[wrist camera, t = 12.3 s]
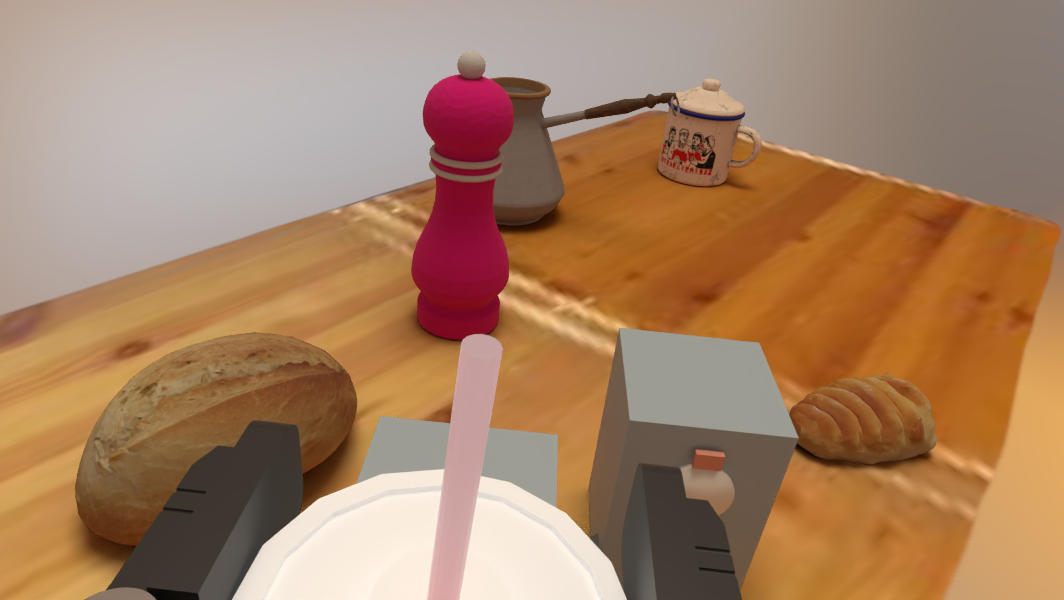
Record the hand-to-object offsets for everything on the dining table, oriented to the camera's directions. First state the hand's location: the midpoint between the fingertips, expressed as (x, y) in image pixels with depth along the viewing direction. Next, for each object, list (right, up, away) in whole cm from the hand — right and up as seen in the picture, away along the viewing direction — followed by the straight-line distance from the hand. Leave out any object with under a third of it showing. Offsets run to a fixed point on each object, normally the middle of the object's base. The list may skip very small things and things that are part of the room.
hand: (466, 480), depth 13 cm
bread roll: (-15, -7, +26) cm, 31 cm away
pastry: (+23, -6, +34) cm, 42 cm away
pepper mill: (-5, +2, +42) cm, 42 cm away
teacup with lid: (+22, +18, +75) cm, 80 cm away
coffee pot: (+3, +11, +59) cm, 60 cm away
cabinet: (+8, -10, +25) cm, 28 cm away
